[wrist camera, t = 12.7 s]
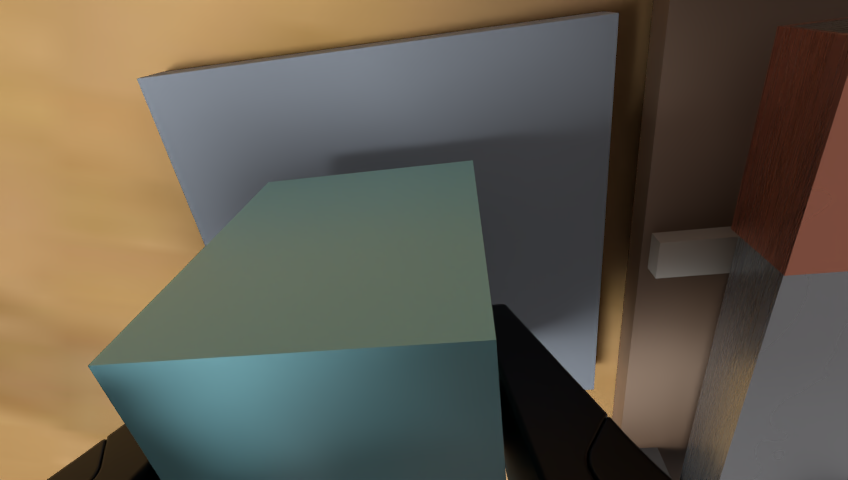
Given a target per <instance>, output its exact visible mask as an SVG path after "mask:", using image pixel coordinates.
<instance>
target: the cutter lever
mask: <svg viewBox="0 0 848 480" xmlns="http://www.w3.org/2000/svg"><path fill="white" fill-rule="evenodd" d="M731 229H732V230H733V231H734V232H735V233H736V234H737V235H738V236H739V237H738V241H737V245H736V249H735V253H734V257H733V261H732V265H731V270H730V274H729V278H728V282H727V286H726V290H725V294H724V298H723V302H722V307H721V311H720V315H719V319H718V323H717V327H716V331H715V335H714V340H713V344H712V348H711V352H710V356H709V360H708V364H707V368H706V373H705V377H704V381H703V385H702V389H701V393H700V397H699V401H698V405H697V410H696V414H695V418H694V422H693V426H692V430H691V434H690V438H689V443H688V447H687V451H686V455H685V459H684V463H683V467H682V471H681V475H680V480H847V479H848V17H845V18H837V19H829V20H822V21H814V22H806V23H798V24H791V25H783V26H778V27H777V31H776V36H775V40H774V44H773V49H772V53H771V57H770V62H769V66H768V70H767V75H766V79H765V83H764V88H763V92H762V96H761V101H760V105H759V109H758V114H757V118H756V122H755V127H754V131H753V135H752V140H751V144H750V148H749V153H748V157H747V161H746V166H745V170H744V174H743V179H742V183H741V187H740V192H739V196H738V200H737V205H736V209H735V213H734V217H733V222H732V226H731Z"/></svg>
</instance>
